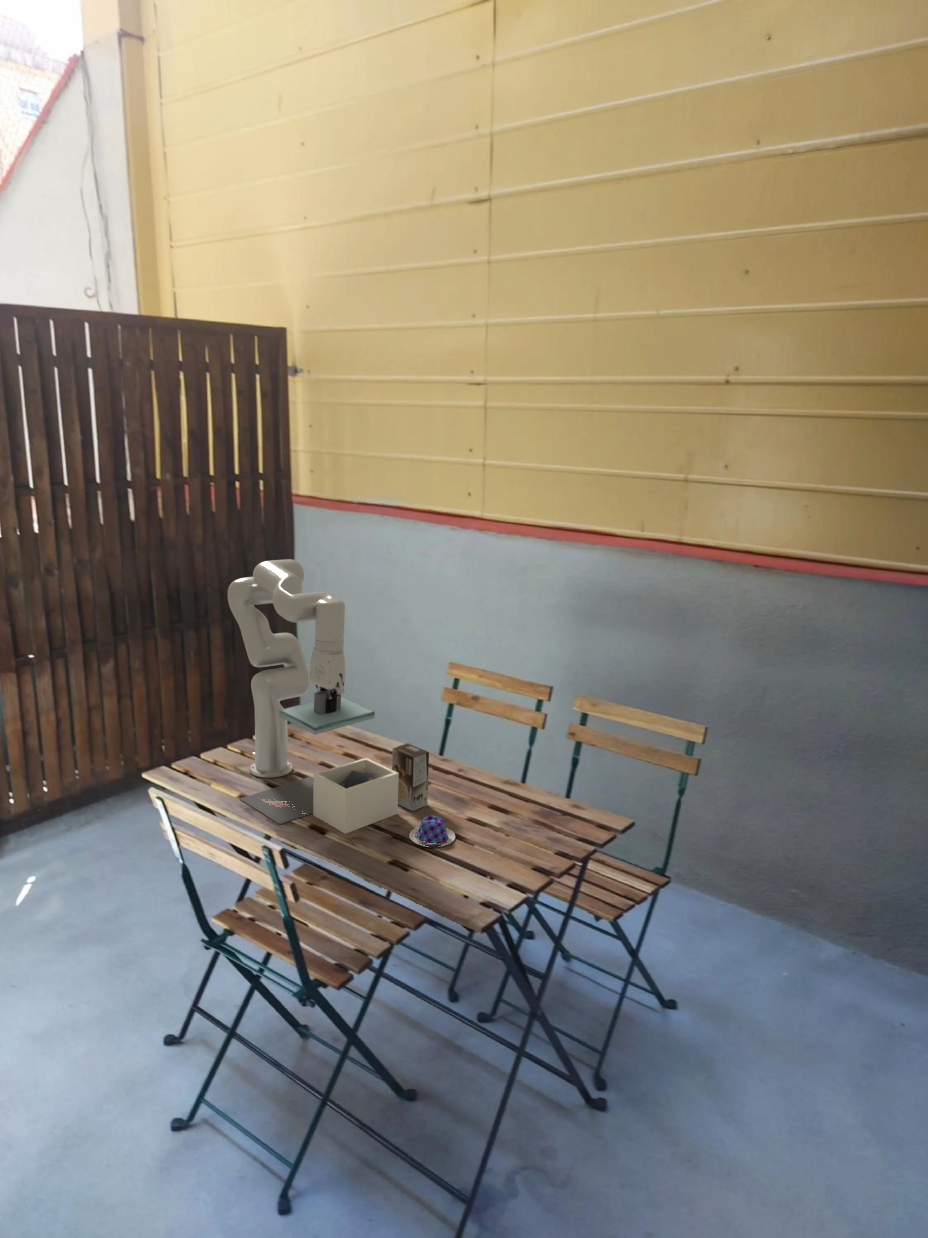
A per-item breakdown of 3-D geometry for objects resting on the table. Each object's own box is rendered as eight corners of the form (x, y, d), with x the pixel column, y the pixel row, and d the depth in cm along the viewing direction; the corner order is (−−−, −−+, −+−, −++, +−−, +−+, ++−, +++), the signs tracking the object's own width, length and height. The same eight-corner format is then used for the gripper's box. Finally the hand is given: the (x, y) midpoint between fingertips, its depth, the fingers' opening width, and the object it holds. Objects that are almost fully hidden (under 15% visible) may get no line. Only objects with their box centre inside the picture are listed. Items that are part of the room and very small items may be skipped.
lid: (278, 716, 223) (279, 690, 221) (338, 701, 237) (338, 677, 235) (314, 734, 212) (315, 707, 210) (374, 718, 226) (375, 692, 225)
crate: (313, 815, 225) (313, 773, 222) (365, 797, 238) (366, 757, 235) (344, 833, 215) (345, 791, 213) (397, 814, 228) (398, 773, 225)
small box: (360, 825, 221) (361, 788, 219) (337, 821, 222) (338, 785, 220) (372, 808, 231) (373, 773, 229) (350, 805, 232) (351, 770, 230)
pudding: (411, 826, 222) (412, 808, 221) (456, 829, 222) (457, 811, 221) (406, 848, 210) (407, 829, 209) (454, 851, 210) (454, 832, 209)
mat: (239, 799, 232) (239, 798, 232) (310, 777, 249) (310, 776, 249) (279, 824, 219) (279, 823, 218) (352, 799, 235) (352, 798, 235)
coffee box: (428, 805, 234) (430, 751, 231) (412, 812, 230) (414, 757, 226) (406, 794, 240) (408, 742, 237) (389, 801, 236) (391, 748, 232)
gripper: (299, 639, 222) (298, 704, 227) (336, 654, 212) (334, 722, 216) (322, 635, 228) (320, 699, 232) (359, 650, 217) (357, 716, 222)
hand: (327, 709), depth 224 cm, fingers closed on lid, 2 cm apart
